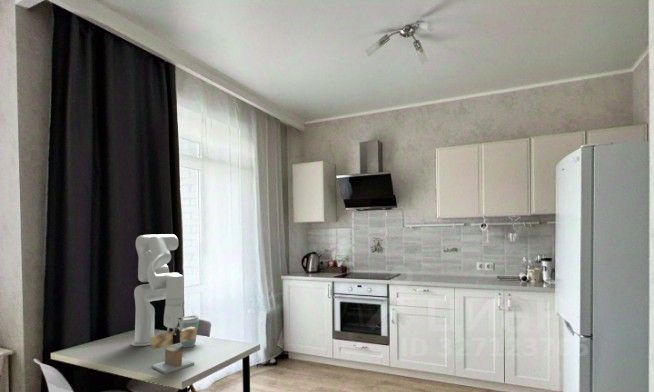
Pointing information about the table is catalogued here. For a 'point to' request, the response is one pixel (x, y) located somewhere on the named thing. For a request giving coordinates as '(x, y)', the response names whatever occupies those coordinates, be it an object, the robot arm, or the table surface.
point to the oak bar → (171, 338)
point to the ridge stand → (172, 361)
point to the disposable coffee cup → (190, 322)
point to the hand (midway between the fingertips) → (173, 341)
